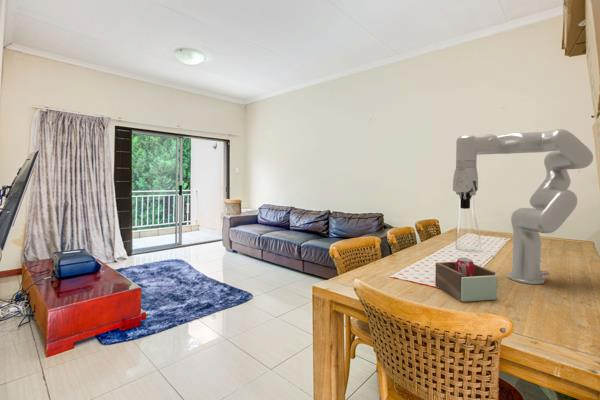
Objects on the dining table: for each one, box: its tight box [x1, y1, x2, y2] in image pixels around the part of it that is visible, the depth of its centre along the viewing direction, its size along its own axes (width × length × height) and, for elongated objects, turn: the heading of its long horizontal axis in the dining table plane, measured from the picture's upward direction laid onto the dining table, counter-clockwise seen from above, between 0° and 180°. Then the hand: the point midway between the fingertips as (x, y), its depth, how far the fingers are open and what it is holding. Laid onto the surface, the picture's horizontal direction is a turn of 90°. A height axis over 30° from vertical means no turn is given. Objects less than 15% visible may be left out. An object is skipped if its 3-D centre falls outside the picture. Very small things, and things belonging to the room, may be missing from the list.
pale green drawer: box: [460, 274, 498, 303], centre depth 110 cm, size 14×15×9 cm
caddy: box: [434, 261, 496, 302], centre depth 111 cm, size 14×15×10 cm
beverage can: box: [455, 257, 475, 277], centre depth 110 cm, size 6×6×12 cm
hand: (465, 208), depth 121 cm, fingers closed
